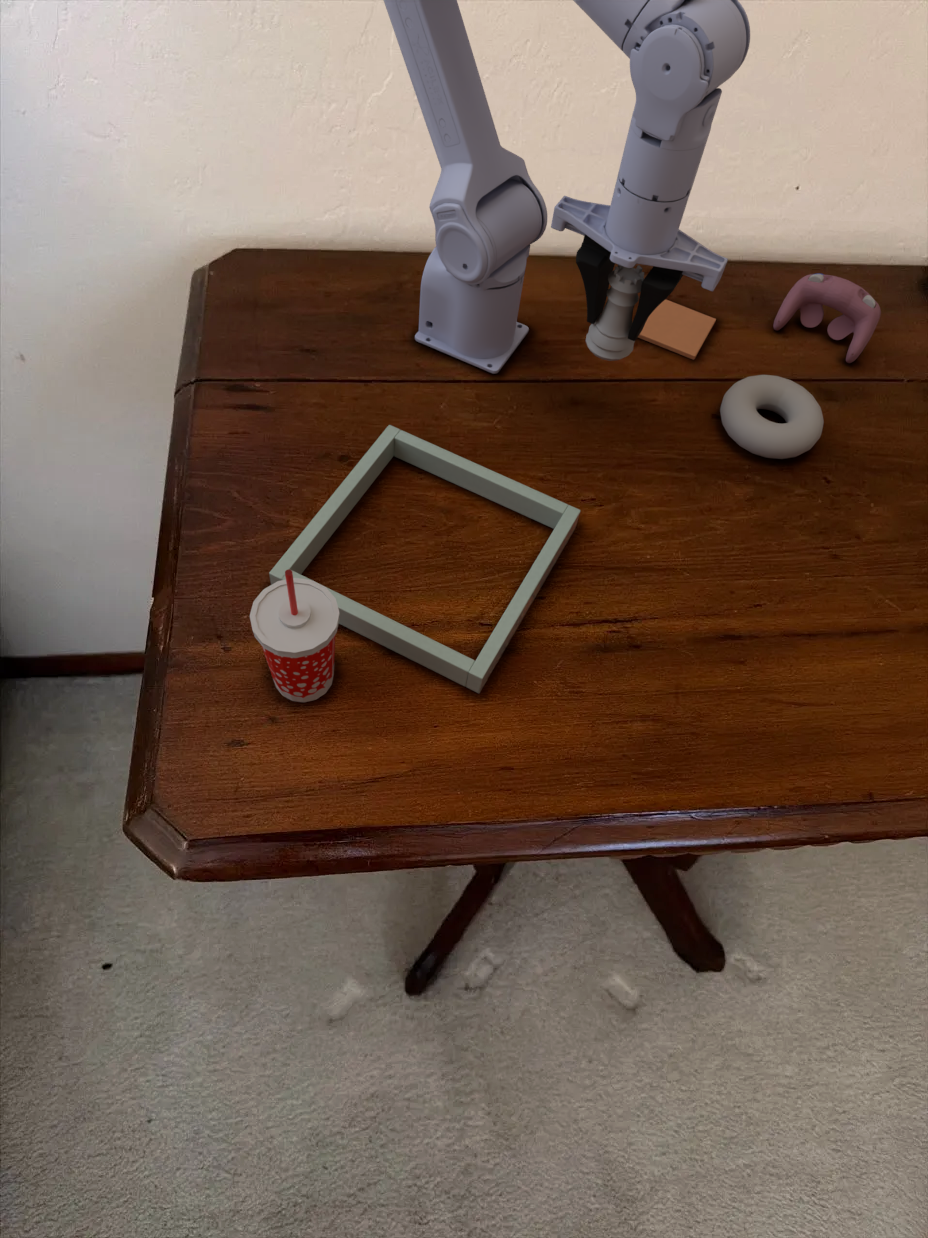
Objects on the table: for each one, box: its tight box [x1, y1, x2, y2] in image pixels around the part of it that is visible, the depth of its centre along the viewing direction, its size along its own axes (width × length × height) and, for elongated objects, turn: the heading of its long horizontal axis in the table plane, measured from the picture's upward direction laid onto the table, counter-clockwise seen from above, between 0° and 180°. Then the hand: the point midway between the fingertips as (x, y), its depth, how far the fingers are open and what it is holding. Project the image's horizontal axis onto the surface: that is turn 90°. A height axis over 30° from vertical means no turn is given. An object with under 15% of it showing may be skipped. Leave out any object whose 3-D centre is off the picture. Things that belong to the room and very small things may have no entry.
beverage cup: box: [249, 569, 340, 703], centre depth 62 cm, size 6×6×14 cm
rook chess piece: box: [585, 264, 645, 362], centre depth 77 cm, size 4×4×8 cm
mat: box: [637, 298, 717, 361], centre depth 94 cm, size 7×7×1 cm
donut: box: [719, 374, 825, 460], centre depth 86 cm, size 10×4×10 cm
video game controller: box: [772, 272, 882, 364], centre depth 94 cm, size 10×5×7 cm, turn 58°
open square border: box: [268, 424, 582, 694], centre depth 74 cm, size 19×19×2 cm
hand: (614, 325), depth 79 cm, fingers closed on rook chess piece, 3 cm apart
